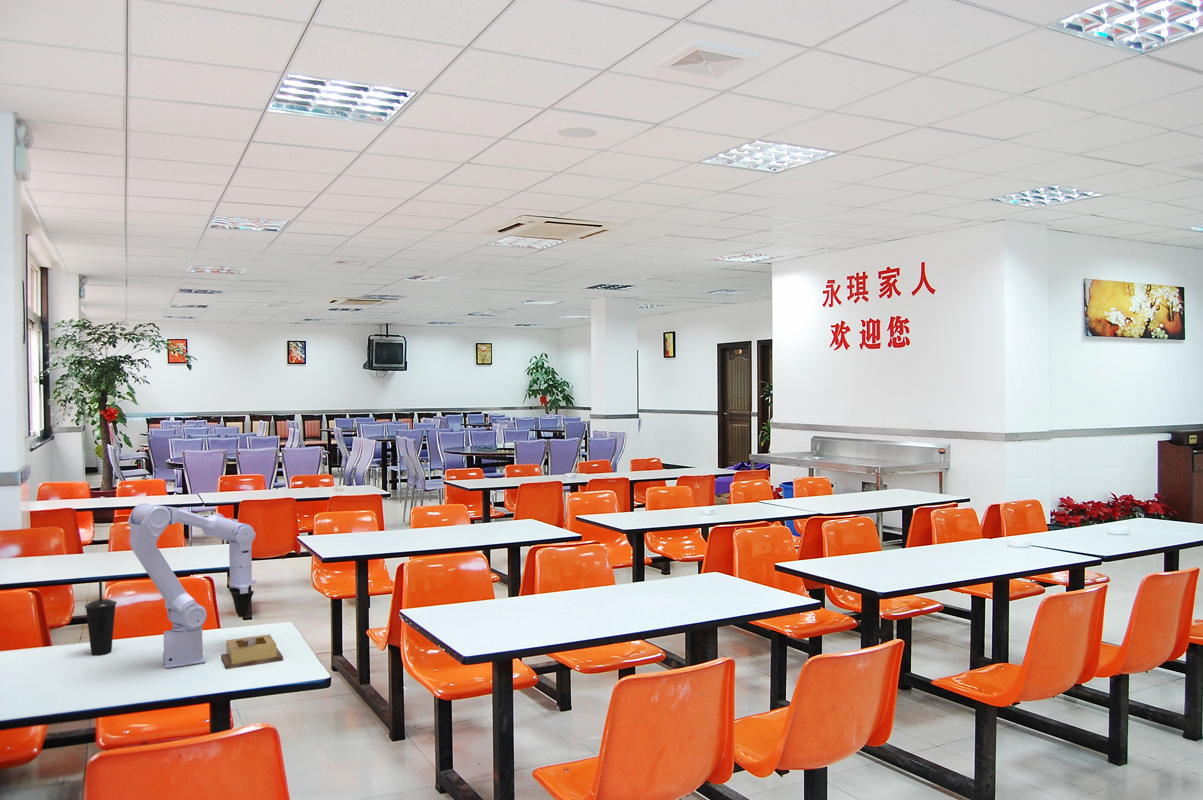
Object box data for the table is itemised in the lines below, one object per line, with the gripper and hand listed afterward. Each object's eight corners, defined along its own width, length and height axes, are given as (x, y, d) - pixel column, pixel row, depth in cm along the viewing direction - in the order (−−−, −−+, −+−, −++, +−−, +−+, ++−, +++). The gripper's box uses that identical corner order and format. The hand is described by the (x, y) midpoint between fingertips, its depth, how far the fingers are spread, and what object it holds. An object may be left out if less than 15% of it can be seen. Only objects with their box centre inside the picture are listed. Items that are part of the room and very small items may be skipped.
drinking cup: (123, 649, 242) (122, 578, 242) (101, 657, 235) (100, 584, 235) (101, 648, 244) (100, 577, 244) (78, 656, 237) (77, 583, 237)
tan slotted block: (231, 663, 225) (231, 650, 225) (226, 653, 234) (226, 640, 234) (276, 657, 230) (276, 643, 230) (269, 647, 240) (269, 634, 240)
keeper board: (225, 669, 224) (225, 647, 224) (221, 658, 233) (220, 637, 233) (283, 660, 230) (282, 639, 230) (276, 650, 240) (275, 629, 240)
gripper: (259, 568, 238) (260, 618, 238) (252, 560, 250) (253, 607, 250) (231, 571, 234) (232, 621, 234) (226, 562, 247) (226, 610, 247)
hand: (241, 614), depth 242 cm, fingers open, 4 cm apart
